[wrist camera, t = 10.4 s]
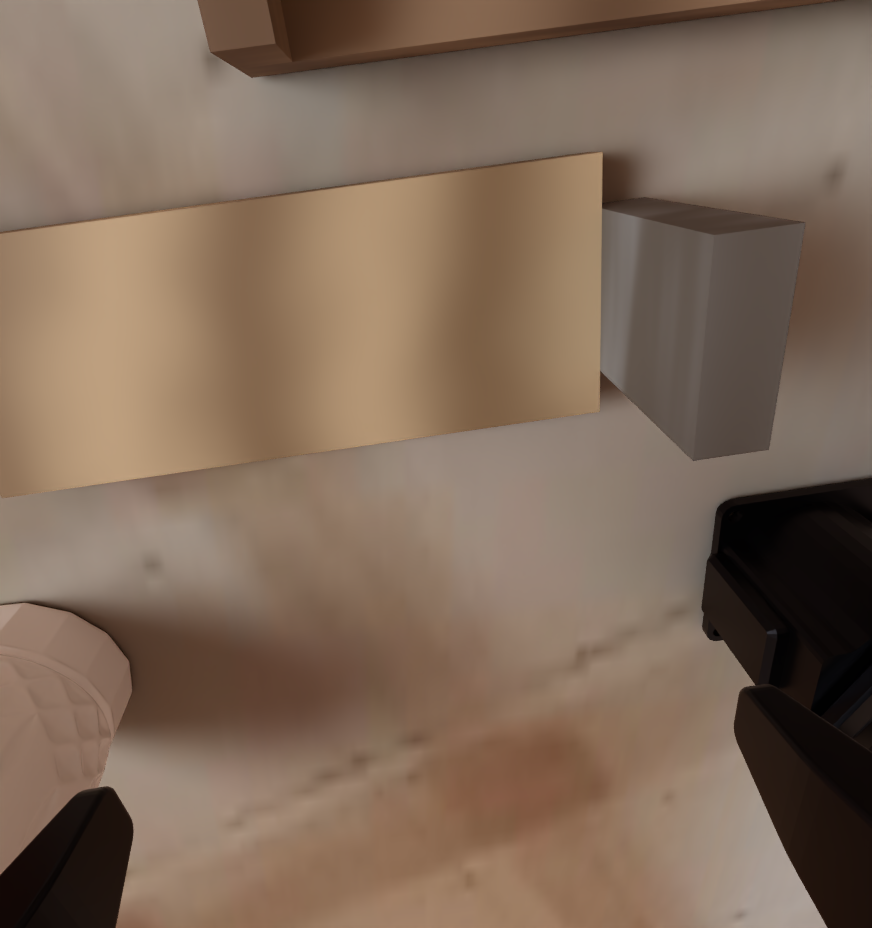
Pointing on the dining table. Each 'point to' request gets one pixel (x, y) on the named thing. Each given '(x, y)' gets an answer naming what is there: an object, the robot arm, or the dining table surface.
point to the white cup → (53, 715)
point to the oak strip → (383, 322)
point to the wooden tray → (422, 26)
